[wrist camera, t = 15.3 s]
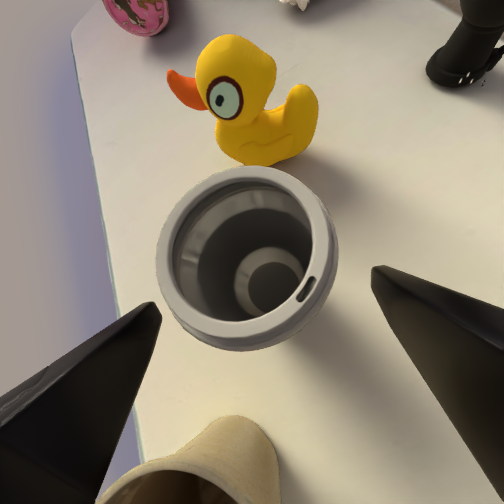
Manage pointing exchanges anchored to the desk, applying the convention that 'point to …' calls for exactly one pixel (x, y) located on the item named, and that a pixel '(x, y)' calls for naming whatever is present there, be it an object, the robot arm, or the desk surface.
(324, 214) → the cup
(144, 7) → the pencil case
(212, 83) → the duckling
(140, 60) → the desk surface
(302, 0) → the toy car
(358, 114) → the desk surface
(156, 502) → the flower pot
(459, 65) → the gumball machine
